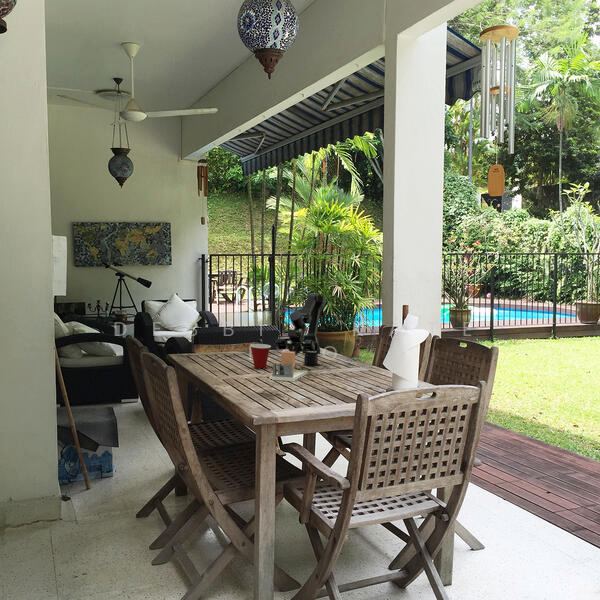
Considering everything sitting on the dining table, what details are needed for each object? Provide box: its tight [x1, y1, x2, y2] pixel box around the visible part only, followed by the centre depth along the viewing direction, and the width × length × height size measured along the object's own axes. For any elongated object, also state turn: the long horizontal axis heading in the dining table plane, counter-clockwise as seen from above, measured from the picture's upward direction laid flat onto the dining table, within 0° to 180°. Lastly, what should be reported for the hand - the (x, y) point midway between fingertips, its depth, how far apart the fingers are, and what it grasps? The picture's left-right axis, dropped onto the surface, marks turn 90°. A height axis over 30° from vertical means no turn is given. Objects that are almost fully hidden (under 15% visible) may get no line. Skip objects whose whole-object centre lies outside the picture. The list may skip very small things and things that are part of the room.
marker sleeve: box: [280, 350, 296, 373], centre depth 307 cm, size 3×6×10 cm, turn 71°
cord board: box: [269, 369, 309, 382], centre depth 308 cm, size 20×12×2 cm, turn 161°
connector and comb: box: [271, 362, 293, 378], centre depth 302 cm, size 6×10×6 cm, turn 71°
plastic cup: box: [249, 343, 272, 369], centre depth 332 cm, size 11×11×12 cm
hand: (291, 358), depth 311 cm, fingers closed
